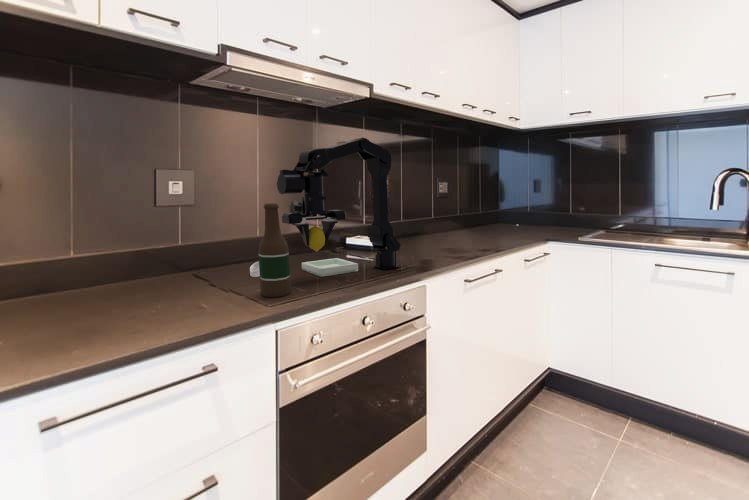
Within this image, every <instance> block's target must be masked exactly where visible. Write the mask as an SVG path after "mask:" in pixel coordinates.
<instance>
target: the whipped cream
mask: <svg viewBox="0 0 749 500" xmlns="http://www.w3.org/2000/svg"><path fill="white" fill-rule="evenodd" d="M249 274H250V277H251V278H260V271H259V261H256V262H254V263H253V264H251V266H250V267H249Z"/></svg>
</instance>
